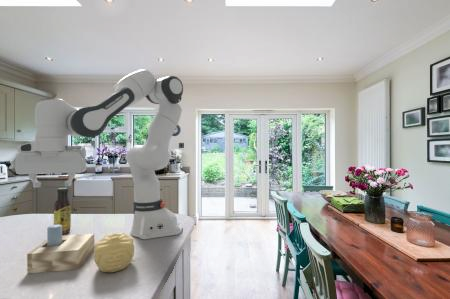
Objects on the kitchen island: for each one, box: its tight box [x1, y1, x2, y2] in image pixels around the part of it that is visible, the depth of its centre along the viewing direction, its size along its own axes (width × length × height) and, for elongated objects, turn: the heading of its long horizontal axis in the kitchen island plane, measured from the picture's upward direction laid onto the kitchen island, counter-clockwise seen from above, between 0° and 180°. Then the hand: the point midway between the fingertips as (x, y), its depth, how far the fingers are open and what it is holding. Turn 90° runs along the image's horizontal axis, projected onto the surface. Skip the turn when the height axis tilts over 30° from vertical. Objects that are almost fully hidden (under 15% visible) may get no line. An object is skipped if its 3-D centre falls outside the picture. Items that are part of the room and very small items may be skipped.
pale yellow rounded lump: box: [93, 232, 135, 273], centre depth 74 cm, size 12×12×11 cm
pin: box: [46, 224, 63, 247], centre depth 78 cm, size 4×4×10 cm
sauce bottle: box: [53, 187, 72, 235], centre depth 103 cm, size 7×6×20 cm
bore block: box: [26, 233, 95, 274], centre depth 78 cm, size 14×14×6 cm
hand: (52, 186), depth 79 cm, fingers open, 8 cm apart
